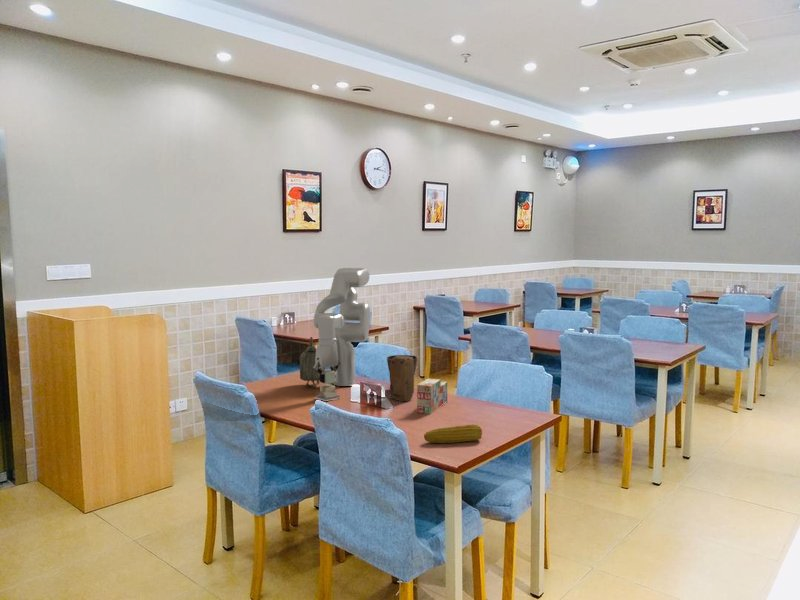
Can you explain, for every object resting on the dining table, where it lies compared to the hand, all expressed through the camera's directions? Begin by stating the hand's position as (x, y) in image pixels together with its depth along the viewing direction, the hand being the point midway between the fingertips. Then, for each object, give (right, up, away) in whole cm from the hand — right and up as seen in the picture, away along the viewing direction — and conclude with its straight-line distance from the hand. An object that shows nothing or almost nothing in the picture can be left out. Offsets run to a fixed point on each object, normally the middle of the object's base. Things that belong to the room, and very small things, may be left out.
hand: (327, 381), depth 268 cm
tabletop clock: (-11, -6, +26) cm, 29 cm away
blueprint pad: (0, -8, +1) cm, 8 cm away
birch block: (0, -7, +1) cm, 7 cm away
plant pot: (+34, -7, +18) cm, 40 cm away
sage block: (0, -1, 0) cm, 1 cm away
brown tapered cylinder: (+34, -9, 0) cm, 35 cm away
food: (+53, -14, -59) cm, 81 cm away
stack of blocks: (+48, -10, -13) cm, 50 cm away
